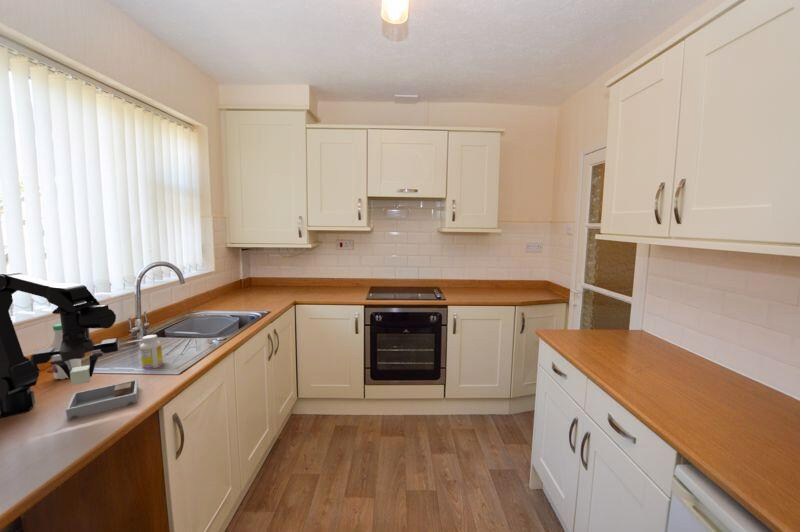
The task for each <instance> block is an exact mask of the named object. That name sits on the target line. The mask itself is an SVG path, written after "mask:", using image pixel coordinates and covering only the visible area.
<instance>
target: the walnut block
mask: <svg viewBox="0 0 800 532" xmlns="http://www.w3.org/2000/svg"><path fill="white" fill-rule="evenodd" d="M114 393H115V398H116V397H120V396H124V395H129V394H132V387H131V382H130V383H125V384H121V385H116V386H115V389H114Z"/></svg>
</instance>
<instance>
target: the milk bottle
mask: <svg viewBox="0 0 800 532" xmlns="http://www.w3.org/2000/svg"><path fill="white" fill-rule="evenodd" d="M52 329H53V332H54V336H53V339H52V341H51V344H50V347H49V348H53V347H54V348H55V350H60V348H61V343H62V340H63V339H62V335H63V334H62V326H61V323H57V324H54V325H52ZM81 360H82V358H81V359H71V360H70V363H71V367H72V369H73V368H75V367H81V366H82V361H81ZM51 366H52V373H53V378H54V380H57V379H61V380H66V379H65V378H68V379H69V377H68V376H67V375H66V373H65V372H64V370H63V369H62V368H61V367H60V366H58V365H56V364H51Z"/></svg>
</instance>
